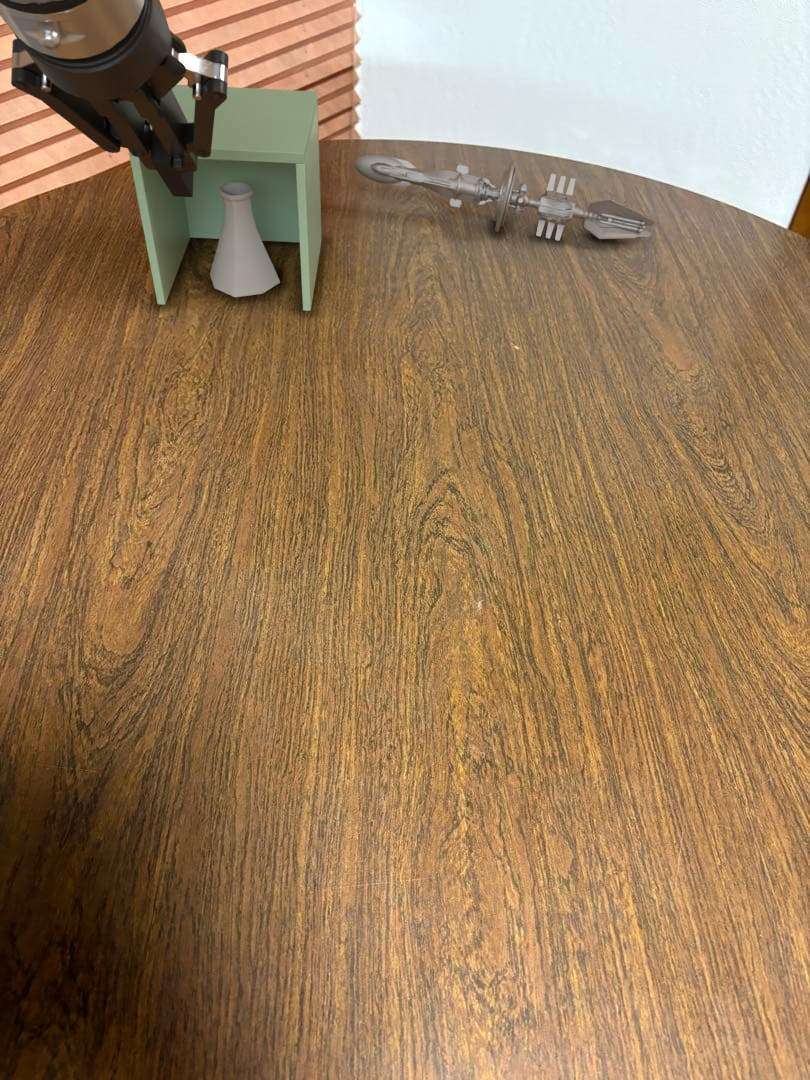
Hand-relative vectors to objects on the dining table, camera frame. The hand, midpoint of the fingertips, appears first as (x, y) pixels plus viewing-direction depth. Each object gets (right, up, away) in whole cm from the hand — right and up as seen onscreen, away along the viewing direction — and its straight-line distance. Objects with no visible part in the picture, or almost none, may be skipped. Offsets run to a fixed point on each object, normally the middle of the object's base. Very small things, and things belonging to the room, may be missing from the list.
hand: (183, 179), depth 67 cm
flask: (0, -1, +25) cm, 25 cm away
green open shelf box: (0, +1, +26) cm, 26 cm away
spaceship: (+28, +9, +35) cm, 46 cm away
